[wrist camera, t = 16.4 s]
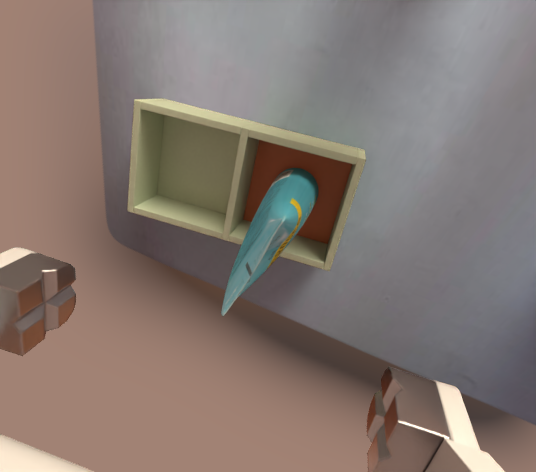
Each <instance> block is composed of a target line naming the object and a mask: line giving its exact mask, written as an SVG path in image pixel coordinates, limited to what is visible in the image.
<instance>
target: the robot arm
mask: <svg viewBox="0 0 536 472" xmlns="http://www.w3.org/2000/svg"><path fill="white" fill-rule="evenodd" d="M75 280H76V277H75V268H74V267H73V266H72V265H71V264H68V263H65V262H62V261H59V260H56V259H54V258H51V257H47V256H45V255H42V254H39V253H35V252H33V251H30V250H27V249H23V248H12V249H10V250H8V251H5V252H3V253H1V254H0V349H2V350H5V351H8V352H12V353H15V354H18V355H21V356H23V355H24V354H26V353H27V352H28V351H30V350H31V349H32V348H33V347H35V346H36V345H37V344H38V343H40V342H41V341H42V340H44V338H45V334H46V331H49V330H53V329H56V328H59V327H60V326H61V325H62V324H64V323H65V322H66V321H67V320H68V318H69V317H70V315H71V314H72V312H73V310H74V307H75V303H76V294H75V292H74V290H73V289H72V287H71V284H72V283H73V282H74V281H75ZM381 385H382V390H381V391H379V392H377V393H375V394H374V397H373V400H372V402H371V405H370V408H369V413H368V419H367V436H368V438H369V439H370V441H371V442H372V444H371V446H370V448H369V451H368V453H367V455H368V472H505V471H504V470H503V469H502V468H501V467H500V466H499V465H498V463H496V461H495V460H494V459H493V458H492V457H491V456H490V455H489V454H488V453H487V452H484V451H481V450H480V448H479V445H478V442H477V439H476V437H475V434H474V431H473V428H472V425H471V422H470V419H469V417H468V414H467V411H466V408H465V405H464V402H463V399H462V397H461V394H460V391H459V390H458V389H457V387H455V386H452V385H449V384H445V383H442V382H438V381H435V380H429V379H426V378H423V377H420V376H416V375H413V374H410V373H407V372H404V371H401V370H397V369H394V368H391V367H388V368H387V369H386V370H385V372H384V374H383V376H382V379H381ZM0 472H94V471H92V470H89V469H87V468H84V467H82V466H79V465H77V464H74V463H72V462H69V461H67V460H64V459H62V458H59V457H57V456H54V455H52V454H49V453H47V452H44V451H42V450H39V449H37V448H34V447H32V446H29V445H27V444H24V443H22V442H19V441H16V440H14V439H12V438H9V437H7V436H4V435H2V434H0Z"/></svg>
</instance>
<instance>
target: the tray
mask: <svg viewBox="0 0 536 472" xmlns="http://www.w3.org/2000/svg"><path fill="white" fill-rule="evenodd" d="M365 161H366V157H365V151H364V150H363V149H359V148H355V147H351V146H347V145H343V144H339V143H335V142H331V141H327V140H324V139H320V138H316V137H312V136H308V135H304V134H300V133H296V132H292V131H288V130H284V129H280V128H276V127H273V126H269V125H265V124H261V123H257V122H253V121H249V120H245V119H241V118H237V117H233V116H229V115H226V114H222V113H218V112H214V111H210V110H206V109H202V108H198V107H194V106H190V105H186V104H182V103H178V102H175V101H171V100H167V99H138V100H134V112H133V128H132V144H131V160H130V176H129V192H128V208H127V211H129V212H132V213H135V214H139V215H142V216H146V217H149V218H152V219H156V220H159V221H162V222H166V223H169V224H172V225H176V226H179V227H182V228H186V229H189V230H193V231H196V232H199V233H203V234H206V235H209V236H213V237H216V238H219V239H223V240H226V241H230V242H233V243H236V244H240V245H242V243H243V240H244V238H245V236H246V233H247V231H248V229H249V227H250V224H251V222H252V220H253V218H254V216H255V214H256V212H257V210H258V208H259V206H260V204H261V202H262V200H263V198H264V197H265V195H266V193H267V191H268V190H269V188H270V186H271V185H272V183H273V182H274V180H275V179H276V177H277V176H278V175H279V174H280V173H281V172H283V171H284V170H286V169H290V168H301V169H304V170H306V171H308V172H309V173H310V174H312V175H313V177H314V178H315V179H316V182H317V184H318V189H319V193H318V198H317V201H316V203H315V205H314V207H313V209H312V211H311V213H310V215H309V216H308V218H307V220H306V221H305V223H304V224H303V226H302V227H301V229H300V230H299V232H298V233H297V234H296V235H295V237H294V238H293V239H292V241H291V242H290V243H289V244H288V246H287V247H286V248H285V249H284V250H283V252H282V253H281V254H280V255H279V256H280V257H283V258H287V259H290V260H293V261H297V262H300V263H303V264H307V265H310V266H314V267H317V268H320V269H324V270H327V271H330V268H331V265H332V262H333V259H334V256H335V253H336V250H337V247H338V244H339V241H340V238H341V235H342V232H343V229H344V226H345V223H346V219H347V216H348V213H349V210H350V207H351V204H352V201H353V198H354V195H355V192H356V189H357V186H358V183H359V180H360V177H361V174H362V170H363V167H364V164H365Z"/></svg>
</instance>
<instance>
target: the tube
mask: <svg viewBox="0 0 536 472" xmlns="http://www.w3.org/2000/svg"><path fill="white" fill-rule="evenodd" d="M318 193H319V189H318V184H317V182H316V179H315V178H314V177H313V175H312V174H310V173H309V172H308V171H306V170H304V169H301V168H290V169H286V170H284V171H283V172H281V173H280V174H279V175H278V176H277V177H276V179H275V180H274V182H273V183H272V185H271V186H270V188H269V190H268V191H267V193H266V195H265V197H264V198H263V200H262V202H261V204H260V206H259V208H258V210H257V212H256V214H255V216H254V218H253V220H252V222H251V224H250V227H249V229H248V231H247V233H246V236H245V238H244V240H243V243H242V245H241V248H240V250H239V252H238V255H237V258H236V260H235V263H234V266H233V269H232V271H231V274H230V278H229V281H228V284H227V288H226V292H225V296H224V301H223V306H222V312H221V313H222V316H224V315H225V314H226V313H227V311H228V310H229V308H230V307H231V306H232V304H233V303H234V301H235V300H236V299H237V298H238V297H239V296H240V295H241V294H242V293H243V292H244V291H245V290H246V289H247V288H249V287H250V286H251V285H252V284H253V283H254V282H255V281H256V280H257V279H258V278H259V277H260V276H261V275H262V274H263V273H264V272H265V271H266V270H267V269H268V267H270V265H271V264H272V263H273V262H274V261H275V260H276V259H277V258H278V256H279V255H280V254H281V253H282V252H283V250H284V249H285V248H286V247H287V246H288V244H289V243H290V242H291V241H292V239H293V238H294V237H295V235H296V234H297V233H298V232H299V230H300V229H301V227H302V226H303V224H304V223H305V221H306V220H307V218H308V216H309V215H310V213H311V211H312V209H313V207H314V205H315V203H316V201H317V198H318Z"/></svg>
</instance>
